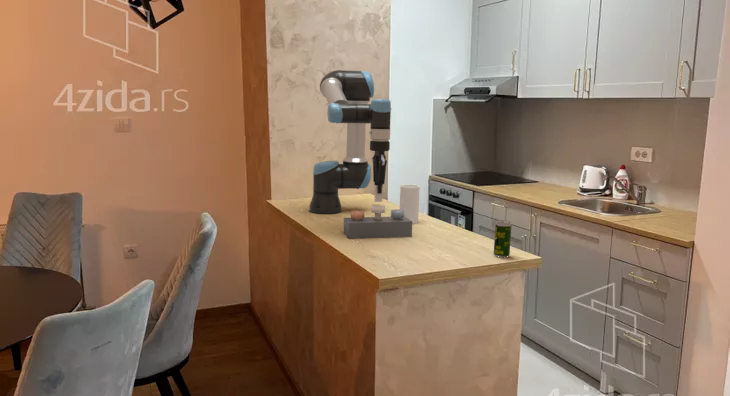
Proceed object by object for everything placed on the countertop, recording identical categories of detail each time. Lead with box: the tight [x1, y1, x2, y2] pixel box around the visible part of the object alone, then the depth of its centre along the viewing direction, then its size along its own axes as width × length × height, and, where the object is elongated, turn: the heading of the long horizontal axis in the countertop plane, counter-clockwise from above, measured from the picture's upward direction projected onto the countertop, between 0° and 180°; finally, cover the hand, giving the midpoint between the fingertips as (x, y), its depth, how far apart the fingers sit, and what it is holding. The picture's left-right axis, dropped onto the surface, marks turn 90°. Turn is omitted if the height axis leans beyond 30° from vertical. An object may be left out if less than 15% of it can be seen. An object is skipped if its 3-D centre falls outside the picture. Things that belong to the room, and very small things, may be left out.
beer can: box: [493, 219, 512, 258], centre depth 190 cm, size 5×5×12 cm
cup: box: [399, 183, 420, 225], centre depth 241 cm, size 8×8×16 cm
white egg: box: [370, 204, 386, 220], centre depth 217 cm, size 5×5×7 cm
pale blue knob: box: [390, 208, 404, 220], centre depth 219 cm, size 5×5×7 cm
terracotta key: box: [350, 209, 366, 221], centre depth 215 cm, size 5×5×7 cm
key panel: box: [343, 216, 413, 240], centre depth 218 cm, size 10×25×6 cm, turn 103°
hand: (378, 201), depth 216 cm, fingers closed
